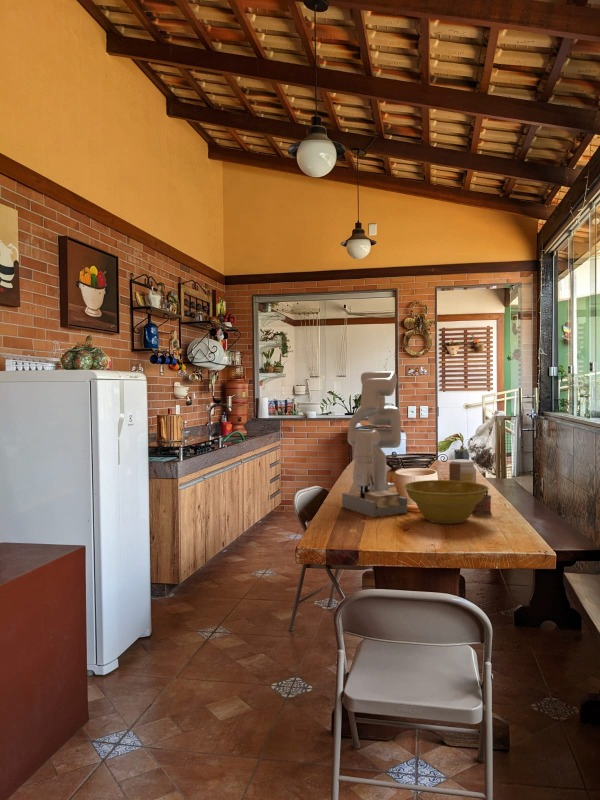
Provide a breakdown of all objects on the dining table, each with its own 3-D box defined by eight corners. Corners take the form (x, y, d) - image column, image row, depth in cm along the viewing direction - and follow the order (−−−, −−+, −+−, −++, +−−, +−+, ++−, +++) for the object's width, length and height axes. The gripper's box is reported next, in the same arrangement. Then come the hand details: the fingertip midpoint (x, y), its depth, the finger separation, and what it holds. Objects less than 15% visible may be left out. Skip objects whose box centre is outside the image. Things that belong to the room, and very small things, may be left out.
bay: (374, 502, 256) (374, 489, 256) (407, 512, 235) (407, 498, 235) (342, 506, 248) (342, 493, 248) (373, 517, 227) (373, 502, 227)
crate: (386, 505, 243) (386, 490, 243) (400, 509, 235) (400, 493, 235) (364, 508, 238) (364, 492, 238) (377, 512, 230) (377, 496, 229)
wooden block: (471, 503, 253) (471, 463, 252) (470, 505, 249) (470, 464, 248) (450, 502, 256) (450, 462, 255) (449, 504, 252) (449, 463, 251)
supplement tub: (456, 492, 279) (456, 458, 278) (480, 495, 271) (480, 460, 271) (444, 496, 270) (444, 460, 269) (469, 499, 262) (469, 463, 261)
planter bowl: (390, 514, 233) (389, 481, 233) (460, 509, 242) (459, 477, 241) (427, 533, 202) (427, 495, 202) (506, 526, 211) (506, 490, 210)
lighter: (491, 513, 233) (491, 488, 233) (490, 514, 230) (490, 490, 230) (471, 511, 237) (471, 487, 236) (470, 513, 234) (470, 488, 233)
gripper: (347, 458, 252) (347, 499, 253) (367, 462, 239) (367, 505, 240) (361, 457, 256) (361, 497, 256) (381, 460, 243) (381, 503, 243)
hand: (364, 501), depth 248 cm, fingers closed
